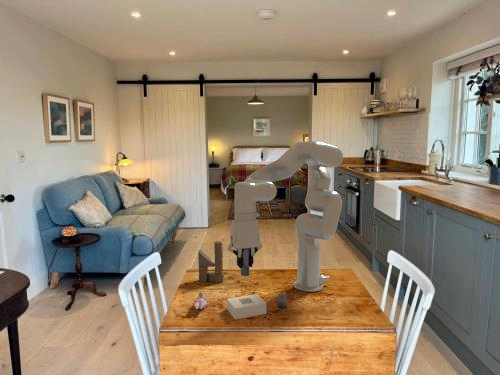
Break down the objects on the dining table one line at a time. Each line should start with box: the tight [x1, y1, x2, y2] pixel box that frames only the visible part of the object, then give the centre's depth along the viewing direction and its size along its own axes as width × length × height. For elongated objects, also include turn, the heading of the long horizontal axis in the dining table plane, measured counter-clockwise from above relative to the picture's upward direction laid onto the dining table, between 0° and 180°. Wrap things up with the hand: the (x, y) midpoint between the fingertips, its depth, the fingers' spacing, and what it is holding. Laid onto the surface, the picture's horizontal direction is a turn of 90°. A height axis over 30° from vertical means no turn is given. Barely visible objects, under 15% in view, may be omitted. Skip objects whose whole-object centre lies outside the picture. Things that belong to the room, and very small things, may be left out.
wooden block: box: [197, 240, 225, 283], centre depth 168 cm, size 4×11×18 cm, turn 85°
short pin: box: [277, 293, 288, 310], centre depth 142 cm, size 3×3×4 cm
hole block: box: [226, 293, 267, 320], centre depth 138 cm, size 12×9×4 cm
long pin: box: [240, 248, 251, 277], centre depth 136 cm, size 3×3×11 cm
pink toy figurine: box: [192, 291, 210, 310], centre depth 142 cm, size 6×6×15 cm
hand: (245, 266), depth 136 cm, fingers closed on long pin, 3 cm apart
